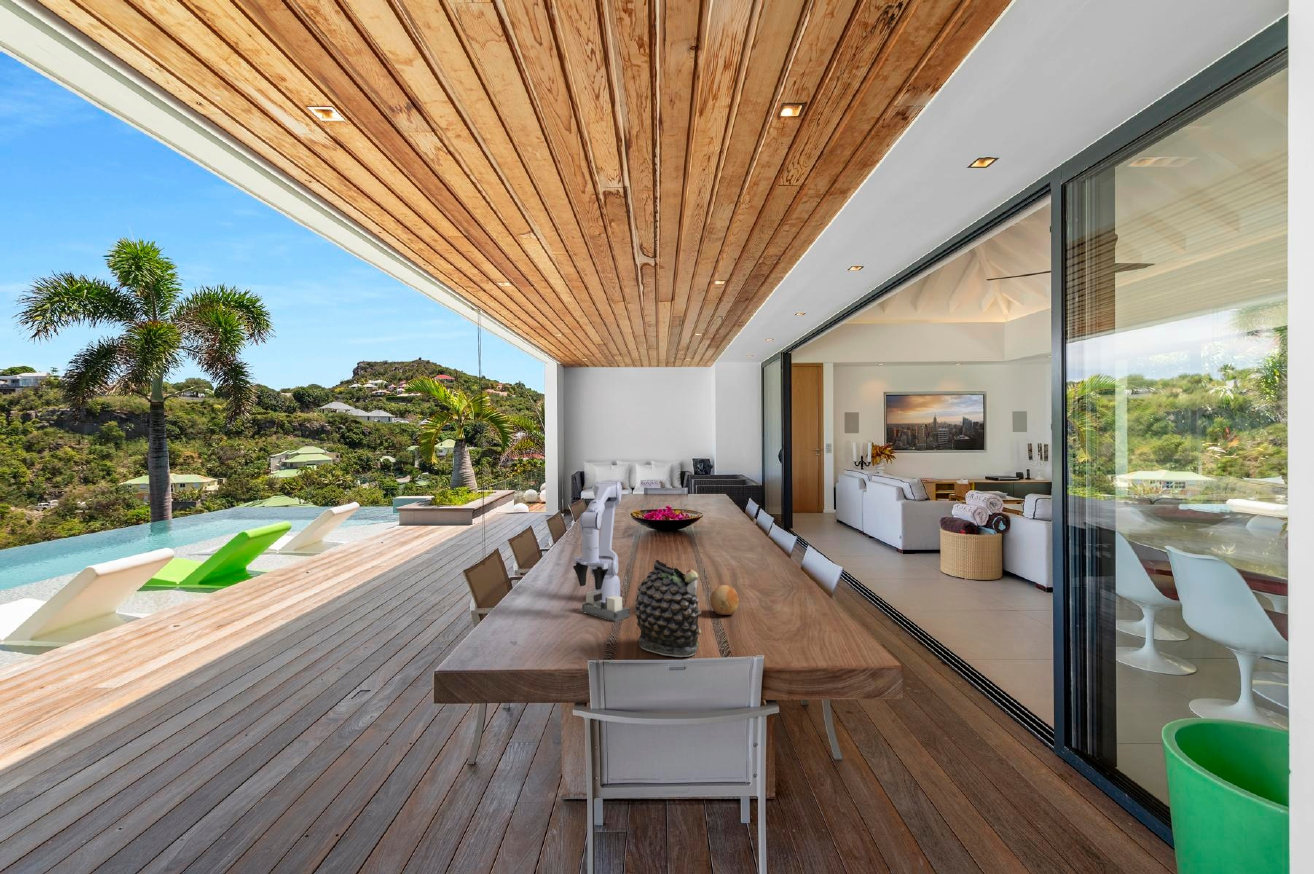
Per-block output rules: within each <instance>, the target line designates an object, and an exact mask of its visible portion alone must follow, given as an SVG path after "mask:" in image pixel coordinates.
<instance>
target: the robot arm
mask: <svg viewBox="0 0 1314 874" xmlns="http://www.w3.org/2000/svg"><path fill="white" fill-rule="evenodd" d="M622 490H623V489H622V483H621V482H620V481H595V483H594V484H593V496H594V498H593V500H590V502H589V504H588V505H587V507H586V510H585V511H584V512H583V513H581V514H580V516H579V527H580V534H581V557H579V556H577V557H574V558H573V564H575V565H572V566H573V567H572V568H573V570H574V572H575V575H576V576H577V580H578V584H579V587H584V586H586V584H587V573H588V569H589V572H590V574H591V575H592V578H593V579H594V589H593V590H595V591H599V592H601V593H602V600H601V601H602V602H606V598H608V597H611V596H614V595H615V596H619V597H621V581H620V577H619V576H618V575H617V574H618V573H619V556H618V554H617V553H616V552H615V551H614V550H613V549H612V546H613V536H614V524H615V514H616V508H617V507H618V506H620V505H621V501H622V494H623V493H622Z"/></svg>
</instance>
